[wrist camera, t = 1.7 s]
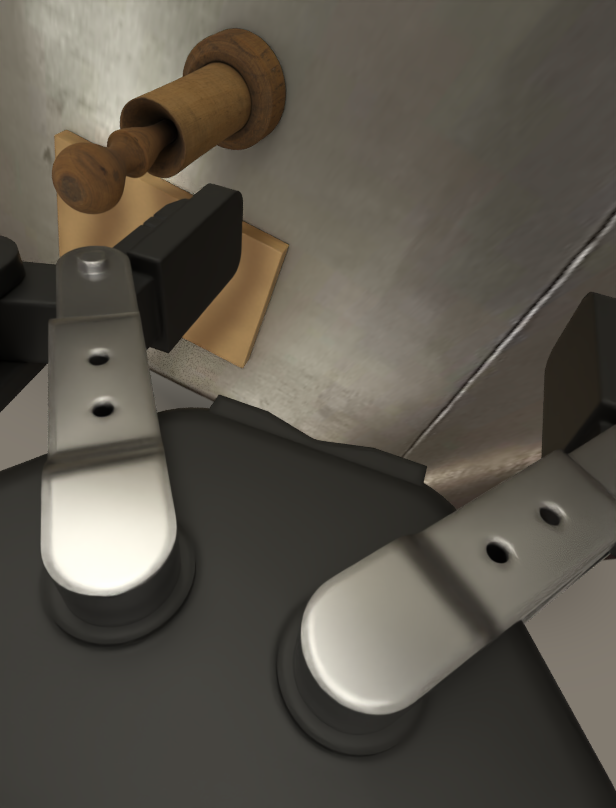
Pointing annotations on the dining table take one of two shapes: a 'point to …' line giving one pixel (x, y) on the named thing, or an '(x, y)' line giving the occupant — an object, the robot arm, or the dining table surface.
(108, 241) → the cutting board
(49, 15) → the dining table surface
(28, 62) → the dining table surface
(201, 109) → the mortar and pestle
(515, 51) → the dining table surface
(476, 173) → the dining table surface
